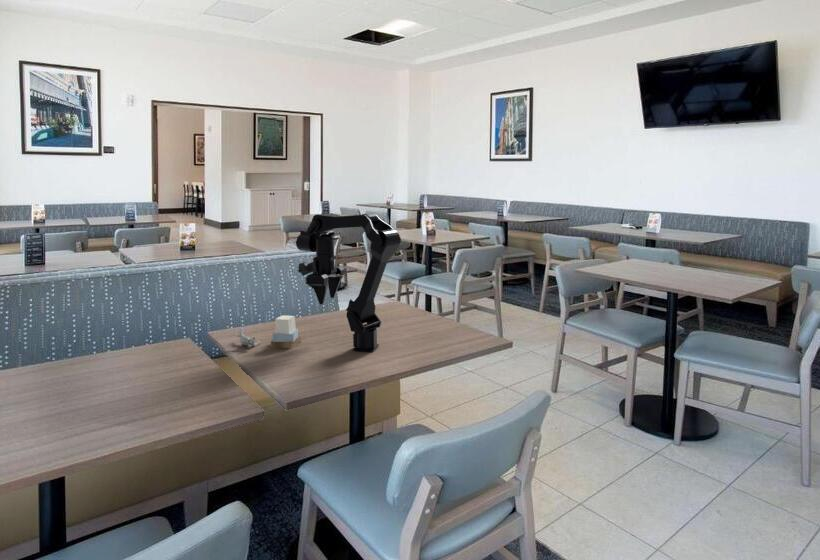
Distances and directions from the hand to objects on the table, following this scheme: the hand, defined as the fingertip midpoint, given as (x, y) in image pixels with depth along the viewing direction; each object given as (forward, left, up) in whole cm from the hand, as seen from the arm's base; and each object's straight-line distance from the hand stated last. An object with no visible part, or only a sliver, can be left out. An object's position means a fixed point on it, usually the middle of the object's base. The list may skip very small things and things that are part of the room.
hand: (326, 301), depth 188 cm
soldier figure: (+23, +11, -13) cm, 29 cm away
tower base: (+11, +8, -14) cm, 19 cm away
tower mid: (+11, +8, -11) cm, 18 cm away
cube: (+11, +8, -9) cm, 16 cm away
